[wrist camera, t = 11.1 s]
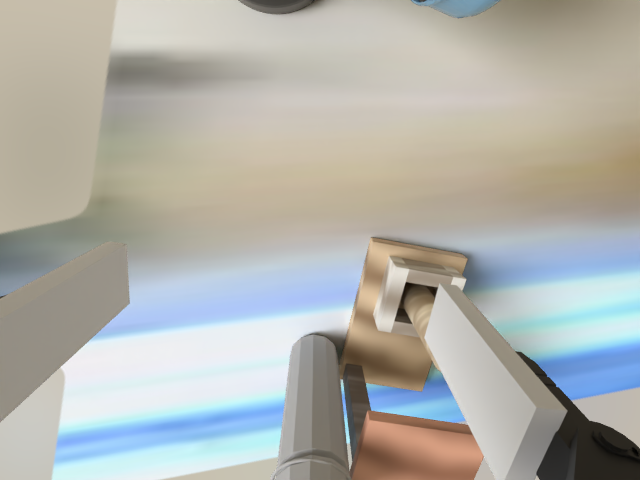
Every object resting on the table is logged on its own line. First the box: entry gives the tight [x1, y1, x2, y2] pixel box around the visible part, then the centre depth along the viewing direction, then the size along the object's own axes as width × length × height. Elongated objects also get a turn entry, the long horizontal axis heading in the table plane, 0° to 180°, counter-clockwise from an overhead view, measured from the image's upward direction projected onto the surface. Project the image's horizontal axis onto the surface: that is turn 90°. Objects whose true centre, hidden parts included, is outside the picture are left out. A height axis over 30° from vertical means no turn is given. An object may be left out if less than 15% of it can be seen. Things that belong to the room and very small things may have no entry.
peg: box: [400, 282, 441, 372], centre depth 39 cm, size 4×4×14 cm
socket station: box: [339, 237, 484, 480], centre depth 40 cm, size 22×13×18 cm, turn 169°
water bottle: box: [271, 334, 351, 480], centre depth 39 cm, size 9×8×25 cm
